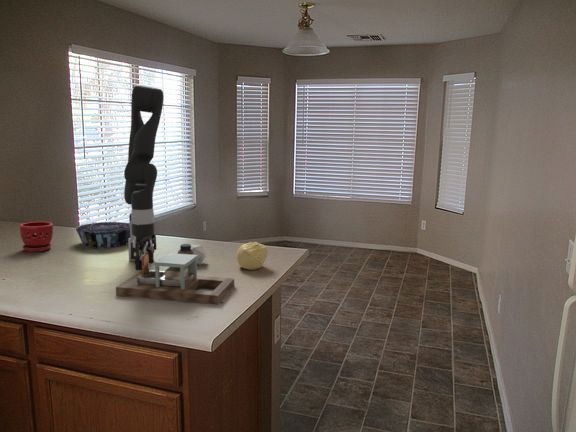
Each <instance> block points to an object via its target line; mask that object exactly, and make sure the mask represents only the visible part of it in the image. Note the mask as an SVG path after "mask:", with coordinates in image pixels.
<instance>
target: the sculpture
mask: <svg viewBox="0 0 576 432" xmlns="http://www.w3.org/2000/svg"><path fill="white" fill-rule="evenodd" d="M268 252H269V249H268V248H267V246H266V245H265V244H262V243H260V242H257V241H254V242H253V241H251V242H246V243H244V244H242V245H240V246H239V248H238V249H237V252H236V262H237V264H238V266H239V267H241V268H243V269H245V270H249V271H254V270H255V271H256V270H258V269H260V268H261V267H263V265H264V263H265V261H266V259H267V258H268Z"/></svg>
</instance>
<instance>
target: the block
mask: <svg viewBox="0 0 576 432" xmlns="http://www.w3.org/2000/svg"><path fill="white" fill-rule="evenodd" d="M164 271H165V279H174V280H181V270H180V268H179V267H170V268H169V267H168V268H167V269H165V270H164ZM187 276H188V267H185V278H186V277H187Z"/></svg>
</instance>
